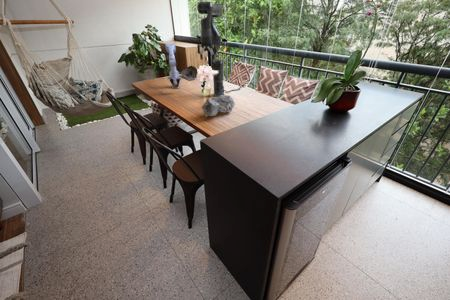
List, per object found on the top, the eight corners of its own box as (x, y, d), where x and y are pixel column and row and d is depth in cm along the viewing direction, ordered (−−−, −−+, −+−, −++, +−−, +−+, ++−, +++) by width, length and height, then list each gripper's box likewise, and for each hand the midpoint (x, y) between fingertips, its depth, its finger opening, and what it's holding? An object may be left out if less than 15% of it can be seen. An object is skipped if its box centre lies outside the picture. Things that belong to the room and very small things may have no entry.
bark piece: (202, 74, 255) (191, 66, 272) (199, 69, 248) (187, 61, 265) (192, 85, 255) (181, 76, 272) (188, 81, 249) (177, 72, 266)
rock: (218, 115, 147) (243, 104, 163) (206, 95, 147) (232, 87, 164) (208, 125, 160) (232, 114, 177) (197, 107, 161) (222, 98, 177)
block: (173, 88, 206) (172, 84, 204) (174, 87, 210) (174, 83, 208) (177, 88, 206) (176, 84, 204) (178, 87, 210) (178, 83, 207)
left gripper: (165, 73, 197) (167, 87, 205) (179, 74, 196) (181, 88, 203) (167, 71, 203) (169, 85, 210) (181, 72, 201) (183, 85, 209)
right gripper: (195, 35, 144) (197, 60, 153) (215, 36, 143) (215, 60, 152) (197, 35, 150) (199, 58, 159) (216, 35, 149) (217, 59, 158)
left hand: (175, 86), depth 207 cm, fingers closed on block, 4 cm apart
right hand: (207, 59), depth 155 cm, fingers open, 8 cm apart
